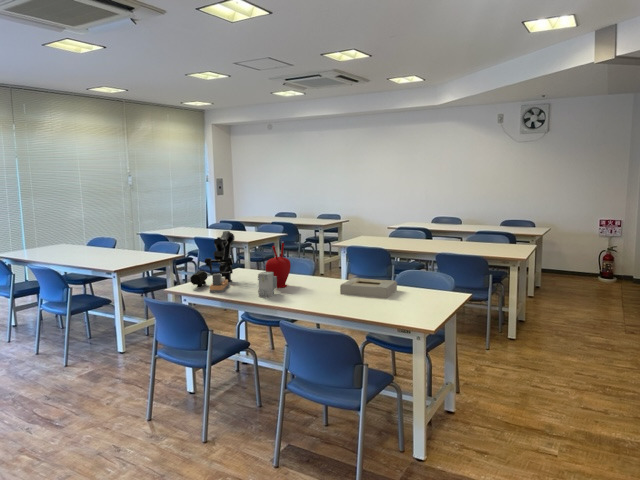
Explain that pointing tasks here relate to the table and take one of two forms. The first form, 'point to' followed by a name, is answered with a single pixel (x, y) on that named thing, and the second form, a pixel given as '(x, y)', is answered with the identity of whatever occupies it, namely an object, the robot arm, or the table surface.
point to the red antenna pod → (279, 268)
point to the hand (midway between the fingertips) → (217, 271)
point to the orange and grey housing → (219, 286)
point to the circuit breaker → (267, 284)
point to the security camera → (199, 278)
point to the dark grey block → (217, 279)
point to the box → (369, 287)
